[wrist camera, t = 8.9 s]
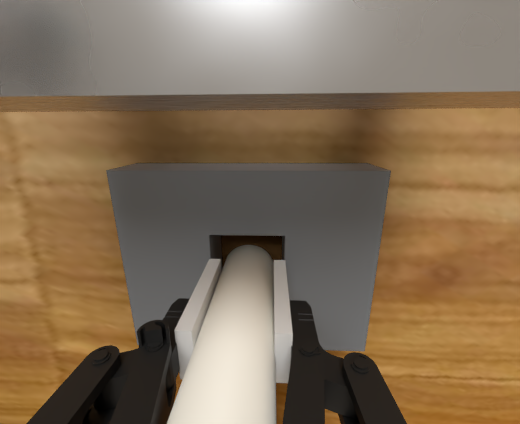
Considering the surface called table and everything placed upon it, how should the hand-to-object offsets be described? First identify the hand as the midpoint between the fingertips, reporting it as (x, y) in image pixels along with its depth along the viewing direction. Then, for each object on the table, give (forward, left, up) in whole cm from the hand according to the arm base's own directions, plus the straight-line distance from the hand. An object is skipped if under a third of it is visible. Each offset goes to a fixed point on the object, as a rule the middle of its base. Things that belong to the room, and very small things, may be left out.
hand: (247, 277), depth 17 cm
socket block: (0, 0, -5) cm, 5 cm away
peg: (0, 0, -2) cm, 2 cm away
